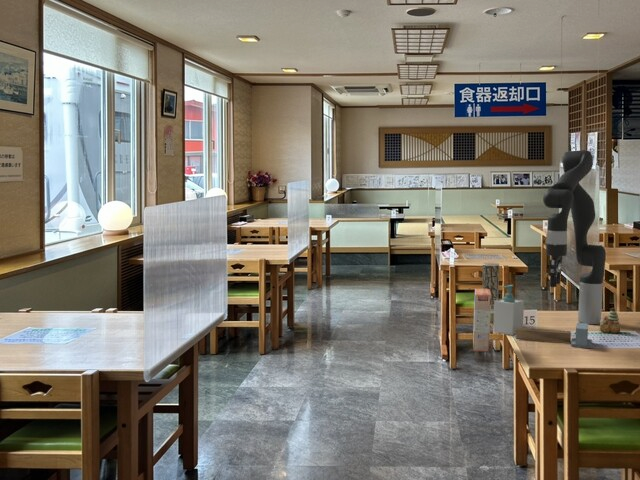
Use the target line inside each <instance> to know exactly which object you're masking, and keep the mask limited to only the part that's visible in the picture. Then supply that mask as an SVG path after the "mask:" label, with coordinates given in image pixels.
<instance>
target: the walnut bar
mask: <svg viewBox="0 0 640 480" xmlns="http://www.w3.org/2000/svg"><path fill="white" fill-rule="evenodd" d="M515 339H516V340H522V341H523V340H525V341H537V342H538V341H539V342H552V343H553V342H554V343H565V344H566V343H567V344H568V343H569V344H571V342H572V331H571V330H561V329H560V330H559V329H546V328H545V329H544V328H530V327H523V328H517V327H516V334H515Z"/></svg>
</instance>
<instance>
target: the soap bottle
mask: <svg viewBox="0 0 640 480" xmlns="http://www.w3.org/2000/svg"><path fill="white" fill-rule="evenodd" d="M512 287H514V284H508V285H504V286H503V287H502V288H503V289H506V291H507V293H505V296H503V298H498V300H495V301H494V322H493V333H496V334H502V335H508V336H516V327H517V328H524V311H525V310H524V309H525V307H524V305H525V301H524V300H522V299H516V298H515V296H514V294H513V293H512V291H513V290H512V289H513V288H512Z"/></svg>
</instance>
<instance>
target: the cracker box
mask: <svg viewBox="0 0 640 480" xmlns="http://www.w3.org/2000/svg"><path fill="white" fill-rule="evenodd" d="M473 301H474V302H473V303H474V304H473V331H472V332H473V333H472V339H473V340H472V350H473V352H478V353H479V352H481V353H483V352H484V353H489V351H490V333H491V332H490V331H491V329H490V328H491V322H490V316H491V292H490V289H482V288H475V289H474V300H473Z"/></svg>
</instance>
